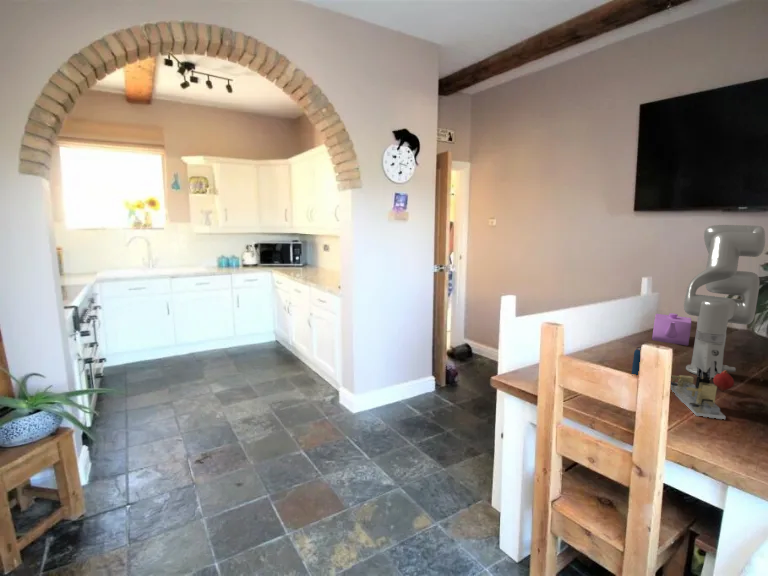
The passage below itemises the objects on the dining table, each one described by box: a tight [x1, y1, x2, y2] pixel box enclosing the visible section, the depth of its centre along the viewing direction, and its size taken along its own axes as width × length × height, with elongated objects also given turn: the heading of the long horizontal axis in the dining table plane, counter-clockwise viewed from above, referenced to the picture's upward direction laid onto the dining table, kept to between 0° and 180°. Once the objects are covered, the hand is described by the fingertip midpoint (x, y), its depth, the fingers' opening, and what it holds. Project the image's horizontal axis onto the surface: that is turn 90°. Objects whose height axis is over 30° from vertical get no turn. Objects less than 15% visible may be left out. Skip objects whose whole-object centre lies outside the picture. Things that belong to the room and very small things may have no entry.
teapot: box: [651, 312, 692, 347], centre depth 209 cm, size 15×25×14 cm, turn 145°
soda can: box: [631, 346, 642, 375], centre depth 159 cm, size 7×7×12 cm
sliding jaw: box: [687, 382, 718, 404], centre depth 136 cm, size 8×2×7 cm, turn 73°
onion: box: [712, 370, 735, 392], centre depth 149 cm, size 6×6×8 cm
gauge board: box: [670, 374, 726, 421], centre depth 141 cm, size 8×26×5 cm, turn 163°
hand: (701, 388), depth 138 cm, fingers closed
